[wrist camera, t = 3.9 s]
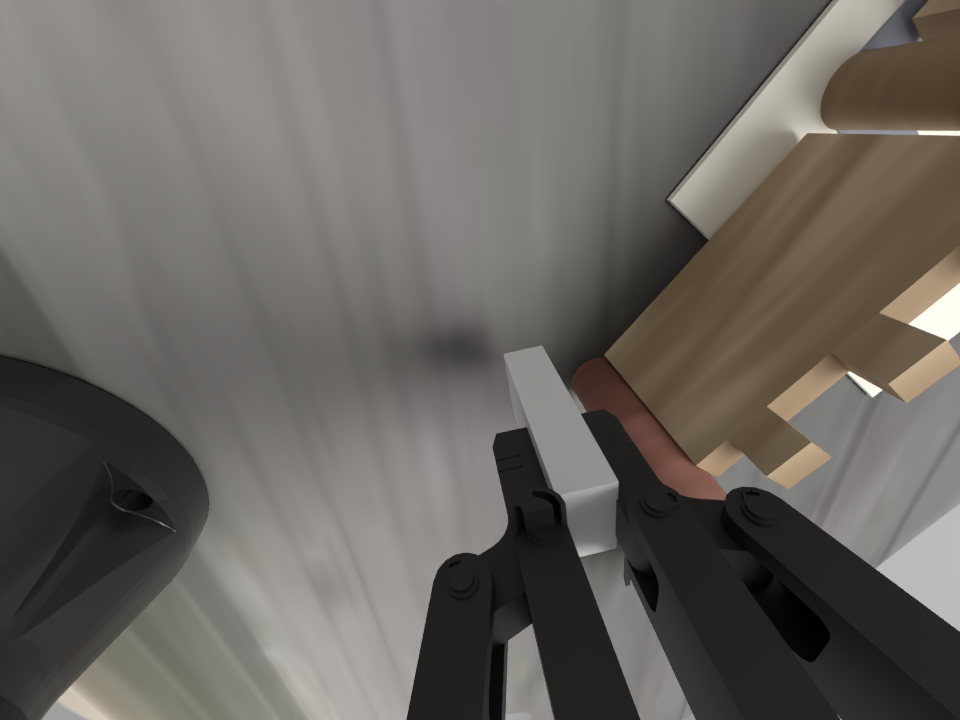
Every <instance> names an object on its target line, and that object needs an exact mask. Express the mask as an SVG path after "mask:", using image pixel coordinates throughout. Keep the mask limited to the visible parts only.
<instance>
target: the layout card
mask: <svg viewBox="0 0 960 720" xmlns="http://www.w3.org/2000/svg"><path fill="white" fill-rule="evenodd" d="M928 1H929V0H833V1H832V2H831V3H830V4H829V5H828V7H827V8H826V9H825V10H824V11H823V13H822V14H821V15H820V16H819V17H818V19H817V20H816V21H815V22H814V23H813V25H812V26H811V27H810V28H809V29H808V31H807V32H806V33H805V34H804V35H803V37H802V38H801V39H800V40H799V41H798V43H797V44H796V45H795V46H794V47H793V49H792V50H791V51H790V52H789V53H788V55H787V56H786V57H785V58H784V59H783V61H782V62H781V63H780V64H779V65H778V67H777V68H776V69H775V70H774V71H773V73H772V74H771V75H770V76H769V77H768V79H767V80H766V81H765V82H764V83H763V85H762V86H761V87H760V88H759V89H758V91H757V92H756V93H755V94H754V95H753V97H752V98H751V99H750V100H749V101H748V103H747V104H746V105H745V106H744V107H743V109H742V110H741V111H740V112H739V113H738V115H737V116H736V117H735V118H734V119H733V121H732V122H731V123H730V124H729V125H728V127H727V128H726V129H725V130H724V131H723V133H722V134H721V135H720V136H719V137H718V139H717V140H716V141H715V142H714V143H713V145H712V146H711V147H710V148H709V149H708V151H707V152H706V153H705V154H704V155H703V157H702V158H701V159H700V160H699V161H698V163H697V164H696V165H695V166H694V167H693V169H692V170H691V171H690V172H689V173H688V175H687V176H686V177H685V178H684V179H683V181H682V182H681V183H680V184H679V185H678V187H677V188H676V189H675V190H674V191H673V193H672V194H671V195H670V196H669V197H668V199H667V200H668V201H669V202H670V203H671V204H672V205H673V206H674V207H675V208H676V209H677V210H678V211H679V212H680V213H681V214H682V215H683V216H684V217H685V218H686V219H687V220H688V221H689V222H690V223H691V224H692V225H693V226H694V227H695V228H696V229H697V230H699V231H700V232H701V233H702V234H703V235H704V236H705V237H706V238H707V239H708V240H710V239H711V238H712V236H713V235H714V234H715V233H716V232H717V231H718V230H719V229H720V228H721V227H722V226H723V224H724V223H725V222H726V221H727V220H728V219H729V218H730V217H731V216H732V215H733V214H734V212H735V211H736V210H737V209H738V208H739V207H740V206H741V205H742V204H743V203H744V202H745V200H746V199H747V198H748V197H749V196H750V195H751V194H752V193H753V192H754V191H755V190H756V188H757V187H758V186H759V185H760V184H761V183H762V182H763V181H764V180H765V179H766V178H767V176H768V175H769V174H770V173H771V172H772V171H773V170H774V169H775V168H776V167H777V166H778V164H779V163H780V162H781V161H782V160H783V159H784V158H785V157H786V156H787V155H788V154H789V152H790V151H791V150H792V149H793V148H794V147H795V146H796V145H797V144H798V143H799V142H800V140H801V139H802V138H803V137H804V136H805V135H806V134H807V133H833V134H891V135H950V136H960V131H903V130H833V129H830V128H828V127H827V126H826V125H825V124H824V122H823V121H822V118H821V101H822V97H823V94H824V91H825V89H826V86H827V84H828V82H829V81H830V79H831V77H832V76H833V75H834V73H835V72H836V71H837V69H838V68H839V67H840V66H841V65H842V64H843V63H844V62H845V61H846V60H848V59H849V58H850V57H852V56H853V55H855V54H857V53H861V52H863V51H867V50H872V49H877V48H883V47H889V46H895V45H901V44H907V43H913V42H919V41H922V39H921V37H920V35H919V33H918V30H917V28H916V26H915V24H914V22H913V19H912V18H913V17H914V16H915V15H916V14H917V13H918V12H919V11H920V9H921V8H922V7H923V6H924V5H925V4H926V3H927V2H928ZM909 325H911V326H914V327H916V328H919V329H921V330H924V331H926V332H928V333H931V334H933V335H936V336H938V337H941V338H943V339H946V340H947V341H948V340H949V339H951V338H952V337H953V336H955V335H956V334H957V333H959V332H960V283H959V284H958V285H957V286H955V287H954V288H953V289H952V290H950V291H949V292H948V293H947V294H945V295H944V296H943V297H942V298H940V299H939V300H938V301H937V302H935V303H934V304H933V305H932V306H930V307H929V308H928V309H927V310H925V311H924V312H923V313H922V314H920V315H919V316H918V317H917V318H915V319H914V320H913V321H912V322H910V323H909ZM847 375H848V376H849V377H850V378H851V379H852V380H853V381H854V382H855V383H856V384H857V385H858V386H859V387H861V388H862V389H863V390H864V391H865V392H866V393H867V394H868V395H869V396H871V397H874V396H875V395H877V394H878V393H879V392H881V391H882V389H880V388H879V387H877V386H875V385H873V384H871V383H870V382H868V381H866V380H864V379H863V378H861V377H859V376H857V375H856V374H854V373H852V372H850V371H849V372H848V373H847Z"/></svg>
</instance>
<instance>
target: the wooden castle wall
mask: <svg viewBox="0 0 960 720" xmlns="http://www.w3.org/2000/svg"><path fill="white" fill-rule="evenodd" d="M912 19H913V22H914V24H915V26H916V28H917V30H918V33H919V35H920V37H921V39H922V41H919V42H913V43H907V44H901V45H895V46H889V47H883V48H877V49H872V50H867V51H863V52H861V53H857V54H855V55H853V56H852V57H850V58H849V59H848V60H846V61H845V62H844V63H843V64H842V65H841V66H840V67H839V68H838V69H837V71H836V72H835V73H834V75H833V76H832V77H831V79H830V81H829V82H828V84H827V86H826V89H825V91H824V94H823V97H822V101H821V118H822V121H823V122H824V124H825V125H826V126H827V127H828V128H830V129H833V130H903V131H960V0H929V1H928V2H927V3H926V4H925V5H924V6H923V7H922V8H921V9H920V11H919V12H918V13H917V14H916V15H915V16H914V17H913V18H912Z"/></svg>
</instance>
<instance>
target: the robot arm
mask: <svg viewBox="0 0 960 720" xmlns="http://www.w3.org/2000/svg"><path fill="white" fill-rule="evenodd" d="M504 360H505V366H506V372H507V378H508V384H509V390H510V396H511V402H512V408H513V412H514V415H515V418H516V421H517V424H518V427H519V429H516V430H511V431H507V432H502V433H498V434H496V437H495V440H494V444H493V451H494V456H495V460H496V465H497V469H498V474H499V479H500V483H501V487H502V492H503V496H504V501H505V505H506V510H507V514H508V526H507V530H506V532H505V534H504V536H503V537H502V538H501V540H500V541H499V542H498V543H497V544H495V545H494V546H493V547H492V548H490V549H488V550H487V551H485V552H483V553H482V554H480V555H479V556H478V555H476V554H471V553H461V554H456V555H454V556H452V557H451V558H449V559H447V560H446V561H445V562H444V563H443V564H442V566H441V567H440V568H439V569H438V571H437V574H436V576H435V579H434V582H433V587H432V592H431V597H430V602H429V608H428V613H427V618H426V623H425V628H424V633H423V638H422V643H421V649H420V654H419V659H418V664H417V669H416V674H415V679H414V684H413V689H412V695H411V700H410V705H409V710H408V715H407V720H505V711H506V682H507V653H508V640H509V639H511V638H512V637H514V636H515V635H516V634H518V633H519V632H521V631H522V630H523V629H525V628H526V627H528V626H529V625H530V624H532V625H533V629H534V633H535V638H536V642H537V646H538V651H539V655H540V660H541V664H542V668H543V673H544V677H545V681H546V686H547V690H548V695H549V699H550V703H551V708H552V712H553V716H554V720H640V718H639V715H638V712H637V710H636V707H635V704H634V702H633V699H632V696H631V694H630V691H629V688H628V685H627V683H626V680H625V677H624V675H623V672H622V669H621V667H620V664H619V661H618V659H617V656H616V653H615V651H614V648H613V645H612V643H611V640H610V637H609V635H608V632H607V629H606V627H605V624H604V621H603V619H602V616H601V613H600V611H599V608H598V605H597V603H596V600H595V597H594V595H593V592H592V589H591V587H590V584H589V581H588V579H587V576H586V573H585V571H584V568H583V565H582V563H581V560H580V557H582V556H586V555H591V554H595V553H599V552H604V551H608V550H612V549H616V548H617V538H618V540H619V543H620V545H621V547H622V549H623V551H624V553H625V559H624V580H625V585H626V586H628V585H630V579H631V581H632V583H633V585H634V587H635V589H636V591H637V594H638V596H639V598H640V600H641V602H642V604H643V607H644V609H645V611H646V613H647V615H648V617H649V619H650V622H651V624H652V626H653V628H654V630H655V632H656V635H657V637H658V639H659V641H660V643H661V645H662V647H663V650H664V652H665V654H666V656H667V658H668V660H669V663H670V665H671V667H672V669H673V671H674V673H675V675H676V678H677V680H678V682H679V684H680V686H681V688H682V691H683V693H684V695H685V697H686V699H687V701H688V704H689V706H690V708H691V710H692V712H693V714H694V716H695V719H696V720H840V718H841V719H842V720H960V632H959V631H958V630H956V629H955V628H954V627H952V626H951V625H950V624H948V623H947V622H946V621H944V620H943V619H942V618H940V617H939V616H938V615H936V614H935V613H934V612H932V611H931V610H930V609H928V608H927V607H926V606H924V605H923V604H922V603H920V602H919V601H918V600H916V599H915V598H913V597H912V596H911V595H909V594H908V593H907V592H905V591H904V590H903V589H901V588H900V587H899V586H897V585H896V584H895V583H893V582H892V581H890V580H889V579H888V578H887V577H885V576H884V575H883V574H881V573H880V572H879V571H877V570H876V569H875V568H873V567H872V566H871V565H869V564H868V563H866V562H865V561H864V560H862V559H861V558H860V557H858V556H857V555H856V554H854V553H853V552H852V551H850V550H849V549H848V548H846V547H845V546H844V545H842V544H841V543H840V542H838V541H837V540H836V539H834V538H833V537H832V536H830V535H829V534H827V533H826V532H825V531H823V530H822V529H821V528H819V527H818V526H817V525H815V524H814V523H813V522H811V521H810V520H809V519H807V518H806V517H805V516H803V515H802V514H801V513H799V512H798V511H797V510H795V509H794V508H793V507H791V506H790V505H789V504H787V503H786V502H784V501H783V500H782V499H780V498H779V497H777V496H775V495H773V494H772V493H770V492H768V491H765V490H761V489H758V488H755V487H740V488H736V489H733V490H731V491H730V492H729V493H728V494H727V495H726V498H725V500H713V499H698V498H691V497H686V496H683V495H680V494H679V493H678V492H677V491H676V490H674V489H672V488H670V487H669V486H667V485H664V484H663V483H662V482H661V481H660V480H659V479H658V477H657V476H656V474H655V473H654V471H653V470H652V468H651V467H650V465H649V464H648V462H647V461H646V460H645V458H644V457H643V455H642V454H641V452H640V451H639V449H638V448H637V446H636V445H635V443H634V442H632V439H631V437H630V436H629V435H628V433H627V432H626V431H625V429H624V427H623V426H622V424H621V423H620V421H619V420H618V418H617V417H615V416H614V415H612V414H611V413H609V412H608V411H606V410H605V409H600V410H595V411H591V412H587V413H582V414H580V412H579V410H578V408H577V407H576V405H575V403H574V401H573V399H572V398H571V396H570V394H569V392H568V391H567V389H566V387H565V385H564V383H563V382H562V380H561V378H560V376H559V374H558V373H557V371H556V369H555V367H554V366H553V364H552V362H551V360H550V358H549V357H548V355H547V353H546V351H545V350H544V348H543V346H542V345H541V346H537V347H532V348H528V349H523V350H519V351H514V352H510V353H505V354H504ZM208 510H209V500H208V493H207V488H206V485H205V482H204V480H203V478H202V475H201V473H200V471H199V470H198V468H197V466H196V464H195V463H194V462H193V460H192V459H191V457H190V456H189V455H188V454H187V452H186V451H185V450H184V449H183V448H182V446H181V445H180V444H179V443H178V442H177V441H176V440H175V439H174V438H173V437H172V436H170V435H169V434H168V433H167V432H166V431H165V430H164V429H162V428H161V427H160V426H159V425H157V424H156V423H155V422H154V421H152V420H151V419H149V418H148V417H147V416H145V415H144V414H142V413H141V412H139V411H138V410H136V409H135V408H133V407H131V406H130V405H128V404H126V403H125V402H123V401H121V400H119V399H118V398H116V397H114V396H112V395H110V394H108V393H106V392H104V391H102V390H100V389H98V388H95V387H93V386H91V385H89V384H87V383H84V382H82V381H79V380H77V379H74V378H72V377H69V376H66V375H64V374H61V373H58V372H55V371H52V370H49V369H46V368H43V367H39V366H36V365H33V364H29V363H25V362H21V361H17V360H13V359H9V358H4V357H0V720H42V718H43V716H44V715H45V714H46V713H47V712H48V710H49V709H50V708H51V707H52V705H53V704H54V703H55V702H56V701H57V699H58V698H59V697H60V696H61V695H62V694H63V693H64V692H65V691H66V690H67V689H68V688H69V687H70V686H71V685H72V684H73V683H74V682H75V681H76V680H77V679H78V678H79V676H80V675H81V674H82V673H83V672H84V671H85V670H86V669H87V668H88V667H89V666H90V665H91V664H92V663H93V662H94V661H95V660H96V659H97V658H98V657H99V656H100V655H101V654H102V652H103V651H104V650H105V649H106V648H107V647H108V646H109V645H110V644H111V643H112V642H113V641H114V640H115V639H116V638H117V637H118V636H119V635H120V634H121V633H122V632H123V631H124V630H125V628H126V627H127V626H128V625H129V624H130V623H131V622H132V621H133V620H134V619H135V618H136V617H137V616H138V615H139V614H140V613H141V612H142V611H143V610H144V609H145V608H146V607H147V606H148V605H149V604H150V602H151V601H152V600H153V599H154V598H155V597H156V596H157V595H158V594H159V593H160V592H161V591H162V590H163V589H164V588H165V587H166V586H167V585H168V584H169V583H170V582H171V581H172V579H173V578H174V577H175V576H176V574H177V573H178V572H179V570H180V569H181V568H182V566H183V565H184V563H185V561H186V560H187V558H188V556H189V554H190V552H191V550H192V548H193V546H194V544H195V543H196V541H197V539H198V537H199V535H200V533H201V531H202V529H203V527H204V525H205V523H206V519H207V516H208ZM838 716H839V717H840V718H839V717H838Z"/></svg>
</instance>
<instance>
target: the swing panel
mask: <svg viewBox="0 0 960 720" xmlns="http://www.w3.org/2000/svg"><path fill="white" fill-rule="evenodd" d="M959 283H960V136H950V135H891V134H833V133H807V134H806V135H805V136H804V137H803V138H802V139H801V140H800V142H799V143H798V144H797V145H796V146H795V147H794V148H793V149H792V150H791V151H790V152H789V154H788V155H787V156H786V157H785V158H784V159H783V160H782V161H781V162H780V163H779V164H778V166H777V167H776V168H775V169H774V170H773V171H772V172H771V173H770V174H769V175H768V176H767V178H766V179H765V180H764V181H763V182H762V183H761V184H760V185H759V186H758V187H757V188H756V190H755V191H754V192H753V193H752V194H751V195H750V196H749V197H748V198H747V199H746V200H745V202H744V203H743V204H742V205H741V206H740V207H739V208H738V209H737V210H736V211H735V212H734V214H733V215H732V216H731V217H730V218H729V219H728V220H727V221H726V222H725V223H724V224H723V226H722V227H721V228H720V229H719V230H718V231H717V232H716V233H715V234H714V235H713V236H712V238H711V239H710V240H709V241H708V242H707V243H706V244H705V245H704V246H703V247H702V248H701V250H700V251H699V252H698V253H697V254H696V255H695V256H694V257H693V258H692V259H691V260H690V262H689V263H688V264H687V265H686V266H685V267H684V268H683V269H682V270H681V271H680V273H679V274H678V275H677V276H676V277H675V278H674V279H673V280H672V281H671V282H670V283H669V285H668V286H667V287H666V288H665V289H664V290H663V291H662V292H661V293H660V294H659V295H658V297H657V298H656V299H655V300H654V301H653V302H652V303H651V304H650V305H649V306H648V307H647V309H646V310H645V311H644V312H643V313H642V314H641V315H640V316H639V317H638V318H637V319H636V321H635V322H634V323H633V324H632V325H631V326H630V327H629V328H628V329H627V330H626V331H625V333H624V334H623V335H622V336H621V337H620V338H619V339H618V340H617V341H616V342H615V343H614V345H613V346H612V347H611V348H610V349H609V350H608V351H607V352H606V353H605V354H604V355H605V356H606V358H605V357H599V358H594V359H591V360H589V361H587V362H585V363H584V364H582V365H581V366H580V367H579V368H578V369H577V370H576V372H575V374H574V376H573V379H572V387H573V389H574V391H575V393H576V395H577V396H578V398H579V400H580V401H581V403H582V404H583V406H584V408H585V409H586V411H587V412H591V411H595V410H600V409H605V410H606V411H608V412H609V413H611V414H612V415H614V416H615V417H617V418H618V420H619V421H620V423H621V424H622V426H623V427H624V429H625V431H626V432H627V433H628V435H629V436H630V437H631V439H632V442H634V443H635V445H636V446H637V448H638V449H639V451H640V452H641V454H642V455H643V457H644V458H645V460H646V461H647V462H648V464H649V465H650V467H651V468H652V470H653V471H654V473H655V474H656V476H657V477H658V479H659V480H660V481H661V482H662V483H663V484H664V485H667V486H669V487H670V488H672V489H674V490H676V491H677V492H678V493H679V494H680V495H683V496H686V497H691V498H698V499H713V500H725V498H726V495H727V493H726V492H725V491H724V490H723V489H722V487H721V486H720V485H719V484H718V483H717V482H716V480H715V479H714V478H713V477H712V476H711V474H712V475H714V476H716V477H718V476H719V475H721V474H722V473H723V472H724V471H726V470H727V469H728V468H729V467H731V466H732V465H733V464H734V463H736V462H737V461H738V460H739V459H741V458H742V457H743V456H744V455H746V456H747V457H748V458H749V459H750V460H751V461H752V462H753V463H754V464H755V465H756V466H757V467H758V468H759V469H760V470H761V471H762V472H763V473H764V474H765V475H766V476H767V477H769V478H770V479H772V480H774V481H775V482H777V483H779V484H780V485H782V486H784V487H785V488H787V489H789V488H790V487H792V486H793V485H795V484H796V483H797V482H799V481H800V480H801V479H803V478H804V477H806V476H807V475H808V474H810V473H811V472H812V471H814V470H815V469H817V468H818V467H819V466H821V465H822V464H824V463H825V462H826V461H828V460H829V459H830V458H832V457H831V456H830V455H829V454H827V453H826V452H825V451H824V450H822V449H821V448H820V447H819V446H817V445H816V444H815V443H813V442H812V441H811V440H810V439H808V438H807V437H806V436H805V435H803V434H802V433H801V432H800V431H798V430H797V429H796V428H795V427H793V426H792V425H791V424H790V423H788V422H787V421H788V420H789V419H791V418H792V417H793V416H794V415H796V414H797V413H798V412H799V411H801V410H802V409H803V408H804V407H805V406H807V405H808V404H809V403H810V402H812V401H813V400H814V399H815V398H817V397H818V396H819V395H820V394H822V393H823V392H824V391H825V390H827V389H828V388H829V387H830V386H832V385H833V384H834V383H835V382H837V381H838V380H839V379H840V378H842V377H843V376H844V375H845V374H847V373H848V372H849V371H850V372H852V373H854V374H856V375H857V376H859V377H861V378H863V379H864V380H866V381H868V382H870V383H871V384H873V385H875V386H877V387H879V388H880V389H882V390H884V391H886V392H887V393H889V394H891V395H893V396H895V397H896V398H898V399H900V400H902V401H903V402H905V403H908V402H909V401H910V400H912V399H913V398H914V397H916V396H917V395H919V394H920V393H921V392H923V391H924V390H925V389H927V388H928V387H930V386H931V385H932V384H934V383H935V382H936V381H938V380H939V379H941V378H942V377H943V376H945V375H946V374H947V373H949V372H950V371H952V370H953V369H954V368H956V367H957V366H958V365H960V358H959V356H958V355H957V353H956V352H955V351H954V349H953V348H952V346H951V345H950V344H949V342H948V341H947V340H946V339H943V338H941V337H938V336H936V335H933V334H931V333H928V332H926V331H924V330H921V329H919V328H916V327H914V326H911V325H909V323H910V322H912V321H913V320H914V319H915V318H917V317H918V316H919V315H920V314H922V313H923V312H924V311H925V310H927V309H928V308H929V307H930V306H932V305H933V304H934V303H935V302H937V301H938V300H939V299H940V298H942V297H943V296H944V295H945V294H947V293H948V292H949V291H950V290H952V289H953V288H954V287H955V286H957V285H958V284H959Z"/></svg>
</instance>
